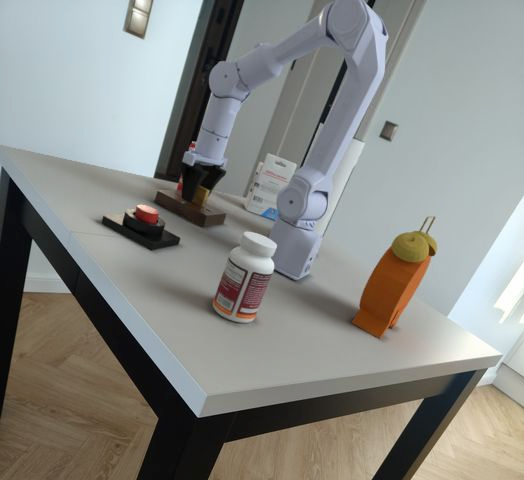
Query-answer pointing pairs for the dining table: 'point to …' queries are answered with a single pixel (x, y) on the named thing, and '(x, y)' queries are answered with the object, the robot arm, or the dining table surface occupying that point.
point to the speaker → (338, 178)
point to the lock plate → (190, 208)
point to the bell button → (146, 213)
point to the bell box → (141, 230)
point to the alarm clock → (395, 281)
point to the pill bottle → (245, 278)
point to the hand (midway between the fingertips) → (193, 199)
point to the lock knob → (201, 196)
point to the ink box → (268, 186)
